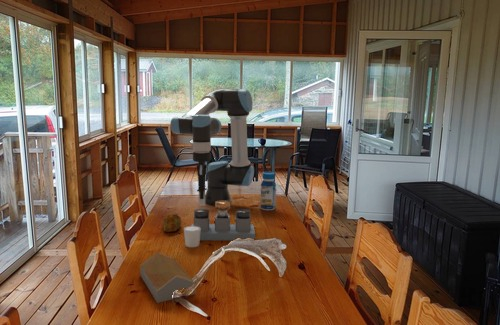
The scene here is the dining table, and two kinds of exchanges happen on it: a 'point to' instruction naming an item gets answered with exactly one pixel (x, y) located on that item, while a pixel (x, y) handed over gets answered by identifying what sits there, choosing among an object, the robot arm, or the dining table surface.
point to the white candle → (192, 236)
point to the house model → (164, 264)
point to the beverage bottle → (268, 191)
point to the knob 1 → (201, 213)
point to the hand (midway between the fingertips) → (202, 205)
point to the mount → (225, 228)
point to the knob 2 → (243, 213)
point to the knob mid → (222, 208)
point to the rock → (171, 222)
